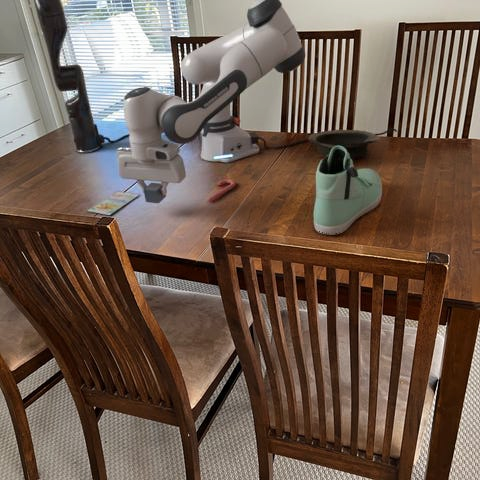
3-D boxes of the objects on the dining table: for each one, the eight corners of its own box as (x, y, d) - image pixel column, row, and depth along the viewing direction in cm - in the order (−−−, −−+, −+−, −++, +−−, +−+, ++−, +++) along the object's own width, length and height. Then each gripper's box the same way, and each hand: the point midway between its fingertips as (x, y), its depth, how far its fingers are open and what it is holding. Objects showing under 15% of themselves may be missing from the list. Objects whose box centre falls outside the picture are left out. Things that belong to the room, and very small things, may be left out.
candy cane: (196, 199, 151) (195, 195, 150) (224, 181, 161) (224, 177, 160) (211, 203, 148) (210, 199, 147) (239, 184, 158) (238, 180, 157)
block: (145, 202, 141) (143, 189, 138) (153, 195, 144) (151, 182, 142) (158, 203, 139) (156, 190, 137) (166, 196, 143) (164, 183, 141)
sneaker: (389, 187, 148) (396, 123, 138) (356, 242, 123) (361, 168, 112) (346, 181, 154) (350, 119, 144) (306, 232, 129) (307, 161, 118)
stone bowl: (336, 174, 158) (335, 147, 154) (295, 157, 179) (293, 133, 174) (394, 156, 167) (394, 130, 163) (348, 141, 187) (348, 118, 183)
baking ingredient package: (86, 209, 148) (117, 190, 160) (87, 211, 148) (117, 191, 160) (109, 214, 145) (139, 194, 156) (109, 215, 145) (139, 195, 156)
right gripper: (109, 150, 134) (119, 195, 142) (174, 154, 128) (181, 201, 135) (120, 142, 139) (129, 186, 147) (184, 146, 133) (190, 191, 140)
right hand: (155, 193), depth 141 cm, fingers closed on block, 4 cm apart
